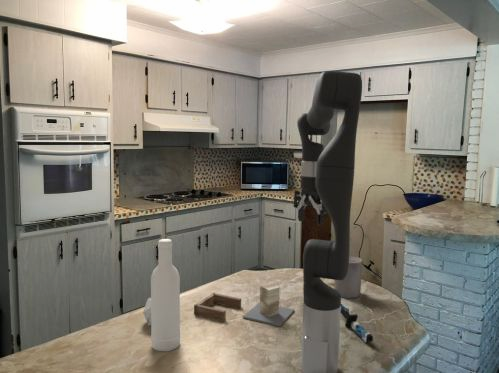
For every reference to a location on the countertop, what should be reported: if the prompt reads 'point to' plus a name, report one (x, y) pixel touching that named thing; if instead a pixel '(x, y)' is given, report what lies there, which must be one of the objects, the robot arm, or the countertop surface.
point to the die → (148, 311)
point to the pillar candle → (351, 279)
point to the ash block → (269, 299)
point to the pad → (273, 320)
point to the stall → (206, 311)
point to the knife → (355, 325)
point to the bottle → (165, 301)
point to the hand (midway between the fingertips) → (310, 223)
